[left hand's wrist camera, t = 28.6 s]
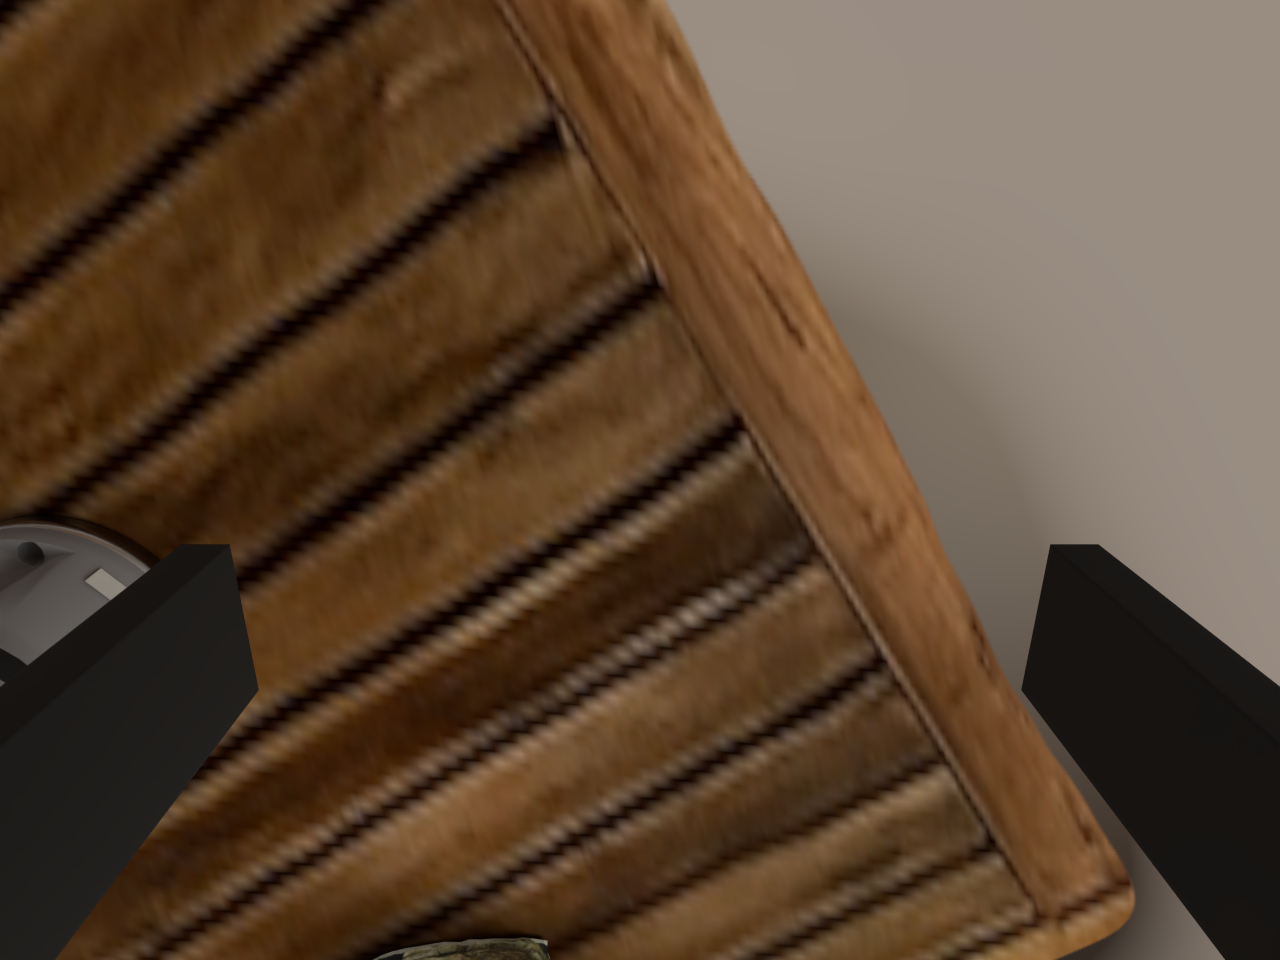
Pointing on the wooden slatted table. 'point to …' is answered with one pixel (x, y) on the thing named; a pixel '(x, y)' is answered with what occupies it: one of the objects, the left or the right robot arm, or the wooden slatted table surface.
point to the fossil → (475, 950)
